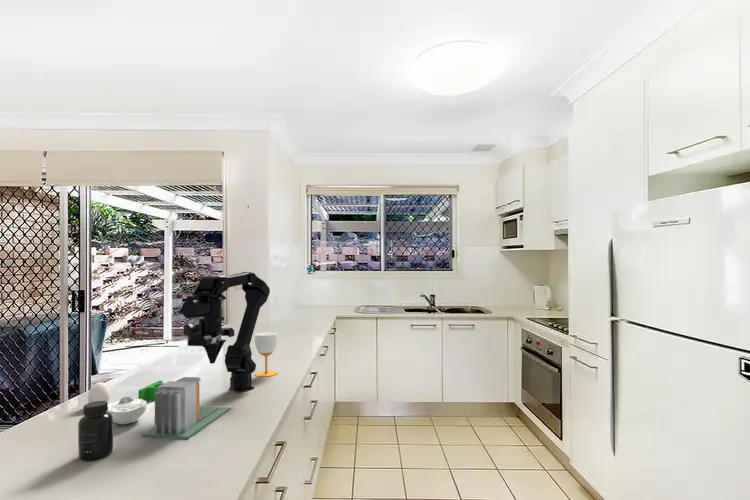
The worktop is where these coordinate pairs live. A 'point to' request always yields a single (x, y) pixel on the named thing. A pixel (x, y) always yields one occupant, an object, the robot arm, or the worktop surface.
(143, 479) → the worktop surface
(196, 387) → the orange block
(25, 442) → the worktop surface
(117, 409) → the cell model
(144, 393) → the pipe clamp
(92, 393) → the egg
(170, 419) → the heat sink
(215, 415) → the board
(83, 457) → the supplement bottle
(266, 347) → the cup
